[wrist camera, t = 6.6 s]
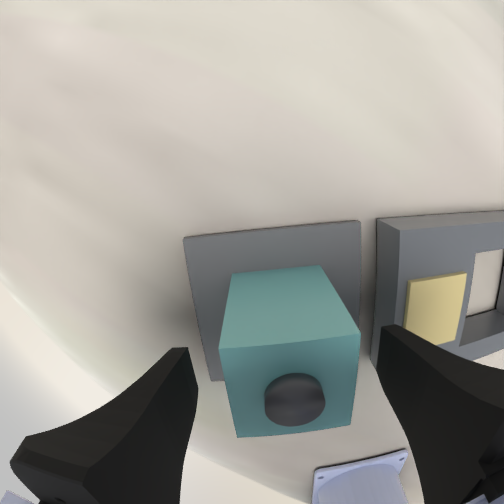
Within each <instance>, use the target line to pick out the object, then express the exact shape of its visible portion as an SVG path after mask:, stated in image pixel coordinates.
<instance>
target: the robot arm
mask: <svg viewBox="0 0 504 504" xmlns="http://www.w3.org/2000/svg"><path fill="white" fill-rule="evenodd" d="M376 371H377V374H378V377H379V380H380V383H381V385H382V388H383V391H384V393H385V395H386V397H387V398H388V400H389V402H390V404H391V406H392V408H393V410H394V412H395V414H396V416H397V418H398V420H399V422H400V424H401V426H402V428H403V430H404V432H405V434H406V436H407V439H408V441H409V444H410V447H411V450H412V453H413V457H414V460H415V463H416V467H417V470H418V474H419V478H420V482H421V487H422V492H423V496H424V502H425V504H504V370H502V369H498V368H494V367H489V366H486V365H482V364H479V363H476V362H473V361H470V360H468V359H465V358H462V357H460V356H457V355H455V354H453V353H451V352H449V351H446V350H444V349H442V348H440V347H438V346H436V345H434V344H432V343H431V342H429V341H427V340H425V339H423V338H421V337H420V336H418V335H416V334H414V333H412V332H410V331H409V330H407V329H405V328H403V327H401V326H399V325H397V324H393V325H387V326H382V327H381V332H380V341H379V350H378V358H377V365H376ZM197 399H198V385H197V381H196V377H195V374H194V370H193V366H192V362H191V358H190V354H189V350H188V347H181V348H171V349H170V350H169V351H168V352H167V353H166V354H165V355H164V356H163V357H162V358H161V359H160V360H159V361H158V362H156V363H155V364H154V365H153V366H152V367H151V368H150V369H149V370H148V371H147V372H146V373H145V374H144V375H143V376H142V377H140V378H139V379H138V380H137V381H136V382H134V383H133V384H132V385H131V386H130V387H128V388H127V389H126V390H125V391H124V392H122V393H121V394H120V395H118V396H117V397H115V398H114V399H113V400H111V401H110V402H108V403H107V404H105V405H104V406H102V407H100V408H99V409H97V410H95V411H93V412H91V413H89V414H87V415H86V416H83V417H82V418H80V419H77V420H75V421H73V422H71V423H68V424H66V425H63V426H61V427H58V428H55V429H52V430H49V431H45V432H42V433H38V434H34V435H30V436H26V437H25V439H24V440H23V442H22V443H21V445H20V446H19V448H18V449H17V451H16V453H15V454H14V456H13V457H12V459H11V460H10V466H11V468H12V470H13V472H14V473H15V475H16V476H17V477H18V478H19V479H20V481H22V483H23V484H24V485H25V486H26V487H27V488H28V489H29V490H30V491H31V492H32V493H33V494H34V495H35V496H36V497H38V498H39V499H40V502H39V504H179V503H180V490H181V479H182V470H183V463H184V458H185V454H186V450H187V446H188V442H189V438H190V434H191V430H192V426H193V422H194V418H195V414H196V408H197ZM407 456H408V451H407V450H401V451H398V452H394V453H391V454H387V455H383V456H379V457H376V458H371V459H367V460H363V461H359V462H354V463H349V464H344V465H339V466H333V467H327V468H321V469H318V470H316V471H315V473H314V484H313V494H312V504H409V503H408V500H407V498H406V495H405V492H404V490H403V487H402V484H401V482H400V479H399V476H398V475H399V473H400V471H401V469H402V467H403V465H404V462H405V460H406V458H407ZM0 504H33V503H32V502H30V501H29V500H27V499H25V498H22V497H20V496H19V495H17V494H15V493H13V492H11V491H6V493H5V495H4V496H3V498H2V500H1V502H0Z"/></svg>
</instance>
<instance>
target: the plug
mask: <svg viewBox="0 0 504 504" xmlns="http://www.w3.org/2000/svg"><path fill="white" fill-rule="evenodd" d="M360 338H361V332H360V331H359V329H358V327H357V326H356V324H355V322H354V320H353V319H352V317H351V315H350V314H349V312H348V310H347V309H346V307H345V305H344V304H343V302H342V300H341V299H340V297H339V295H338V294H337V292H336V290H335V289H334V287H333V285H332V284H331V282H330V280H329V279H328V277H327V276H326V274H325V272H324V271H323V269H322V267H321V266H320V265H313V266H304V267H294V268H284V269H274V270H264V271H254V272H243V273H233V274H232V277H231V282H230V287H229V293H228V298H227V304H226V309H225V315H224V320H223V326H222V331H221V337H220V342H219V348H218V349H219V354H220V360H221V365H222V370H223V375H224V379H225V384H226V389H227V394H228V398H229V403H230V408H231V412H232V417H233V421H234V426H235V430H236V434H237V438H240V437H259V436H272V435H283V434H293V433H301V432H309V431H316V430H323V429H329V428H335V427H341V426H346V425H350V423H351V417H352V410H353V403H354V396H355V388H356V379H357V370H358V361H359V350H360Z"/></svg>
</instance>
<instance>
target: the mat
mask: <svg viewBox="0 0 504 504" xmlns="http://www.w3.org/2000/svg"><path fill="white" fill-rule="evenodd" d="M183 244H184V251H185V256H186V262H187V268H188V274H189V279H190V285H191V290H192V295H193V301H194V306H195V311H196V316H197V321H198V325H199V330H200V335H201V340H202V344H203V349H204V353H205V358H206V362H207V367H208V371H209V375H210V379H211V381H225V379H224V375H223V370H222V365H221V360H220V354H219V349H218V348H219V342H220V337H221V331H222V326H223V320H224V315H225V309H226V304H227V298H228V293H229V287H230V282H231V277H232V274H233V273H243V272H254V271H264V270H274V269H284V268H294V267H304V266H313V265H320V266H321V267H322V269H323V271H324V272H325V274H326V276H327V277H328V279H329V280H330V282H331V284H332V285H333V287H334V289H335V290H336V292H337V294H338V295H339V297H340V299H341V300H342V302H343V304H344V305H345V307H346V309H347V310H348V312H349V314H350V315H351V317H352V319H353V320H354V322H355V324H356V326H357V327H358V329H359V312H360V285H361V222H360V221H358V220H357V221H345V222H333V223H322V224H311V225H300V226H289V227H279V228H268V229H258V230H248V231H239V232H229V233H220V234H210V235H201V236H192V237H184V239H183Z"/></svg>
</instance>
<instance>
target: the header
mask: <svg viewBox="0 0 504 504" xmlns="http://www.w3.org/2000/svg"><path fill="white" fill-rule="evenodd" d="M499 249H504V211H486V212H469V213H453V214H437V215H423V216H408V217H395V218H382V219H377V277H376V297H375V312H374V325H373V336H372V346H371V355H370V360H371V362H372V364H373V366H374V367H375V369H376V365H377V358H378V350H379V341H380V332H381V327H382V326H387V325H393V324H397V325H399V326H401V327H403V328H405V329H407V330H409V331H410V332H412V333H414V334H416V335H418V336H420V337H421V338H423V339H425V340H427V341H429V342H431V343H432V344H434V345H436V346H438V347H440V348H442V349H444V350H446V351H449V352H451V353H453V354H455V355H457V356H460V357H462V358H465V359H468V360H470V361H473V360H476V359H478V358H481V357H484V356H486V355H489V354H492V353H494V352H497V351H499V350H502V349H504V268H503V274H502V280H501V286H500V291H499V296H498V301H497V306H496V310H492V311H489V312H486V313H482V314H479V315H475V316H472V317H468V318H466V313H467V308H468V302H469V297H470V291H471V285H472V278H473V271H474V263H475V254H476V253H480V252H486V251H493V250H499Z"/></svg>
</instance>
